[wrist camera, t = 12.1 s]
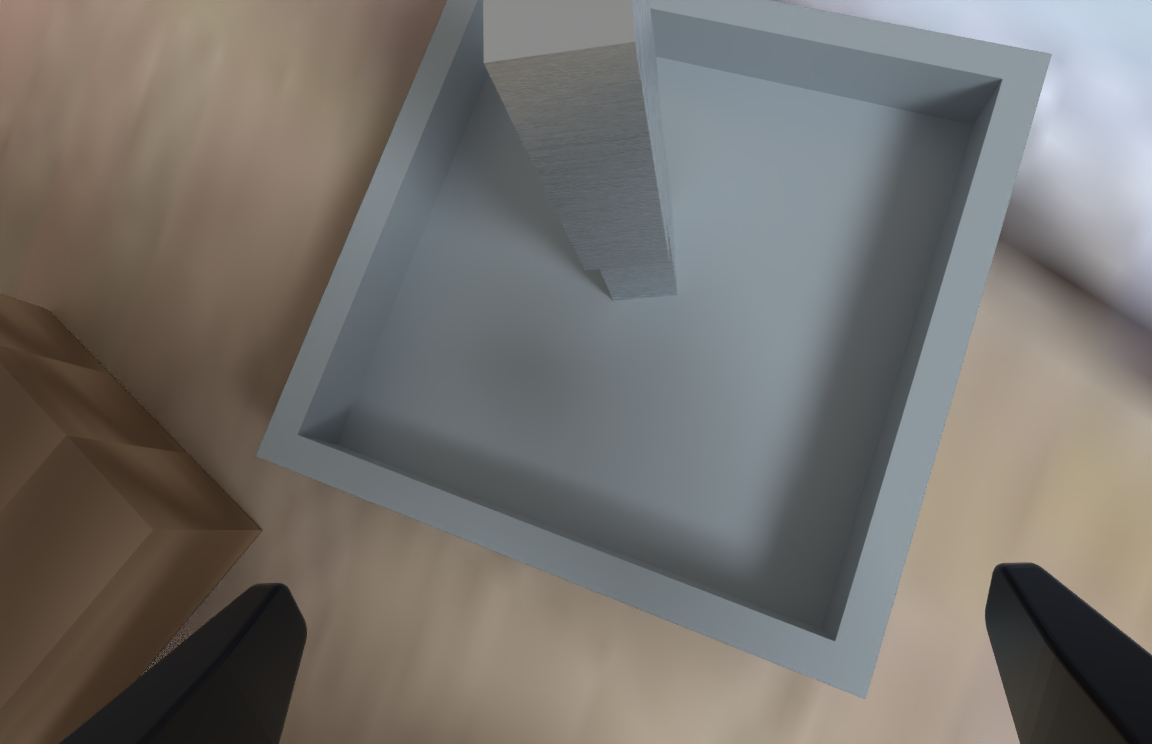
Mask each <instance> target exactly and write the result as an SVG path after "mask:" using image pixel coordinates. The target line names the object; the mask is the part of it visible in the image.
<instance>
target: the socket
mask: <svg viewBox="0 0 1152 744" xmlns="http://www.w3.org/2000/svg"><path fill="white" fill-rule="evenodd" d="M261 531H262V530H261V529H260V528H259V527H258V526H257V524H256V523H255V522H254V521H253V520H252V519H251V518H250V517H249V516H248V515H247V514H246V513H245V512H244V511H243V510H242V509H241V508H240V507H239V506H238V505H237V504H236V503H235V502H234V501H233V500H232V499H231V498H230V497H229V496H228V495H227V494H226V493H225V492H224V491H223V490H222V488H221V487H220V486H219V485H218V484H217V483H216V482H215V481H214V480H213V479H212V478H211V477H210V476H209V475H208V474H207V473H206V472H205V471H204V470H203V469H202V468H201V467H200V466H199V465H198V464H197V463H196V462H195V461H194V460H193V459H192V458H191V457H190V456H189V455H188V454H187V453H186V451H185V450H184V449H183V448H182V447H181V446H180V445H179V444H178V443H177V442H176V441H175V440H174V439H173V438H172V437H171V436H170V435H169V434H168V433H167V432H166V431H165V430H164V429H163V428H162V427H161V426H160V425H159V424H158V423H157V422H156V421H155V420H154V419H153V418H152V417H151V416H150V414H149V413H148V412H147V411H146V410H145V409H144V408H143V407H142V406H141V405H140V404H139V403H138V402H137V401H136V400H135V399H134V398H133V397H132V396H131V395H130V394H129V393H128V392H127V391H126V390H125V389H124V388H123V387H122V386H121V385H120V384H119V383H118V382H117V381H116V380H115V378H114V377H113V376H112V375H111V374H110V373H109V372H108V371H107V370H106V369H105V368H104V367H103V366H102V365H101V364H100V363H99V362H98V361H97V360H96V359H95V358H94V357H93V356H92V355H91V354H90V353H89V352H88V351H87V350H86V349H85V348H84V347H83V346H82V345H81V344H80V343H79V341H78V340H77V339H76V338H75V337H74V336H73V335H72V334H71V333H70V332H69V331H68V330H67V329H66V328H65V327H64V326H63V325H62V324H61V323H60V322H59V321H58V320H57V319H56V318H55V317H54V316H53V315H52V314H51V313H50V312H49V311H48V310H47V309H44V308H41V307H38V306H35V305H32V304H29V303H26V302H23V301H20V300H17V299H14V298H11V297H8V296H5V295H2V294H0V744H59V743H60V742H61V741H62V740H64V739H65V738H66V737H67V736H68V735H70V734H71V733H72V732H73V731H75V730H76V729H77V728H78V727H80V726H81V725H82V724H83V723H84V722H86V721H87V720H88V719H89V718H91V717H92V716H93V715H94V714H95V713H97V712H98V711H99V710H100V709H102V708H103V707H104V706H105V705H106V704H108V703H109V702H110V701H111V700H113V699H114V698H115V697H116V696H117V695H119V694H120V693H121V692H122V691H124V690H125V689H126V688H127V687H129V686H130V685H131V684H132V683H133V682H135V681H136V680H137V679H138V678H139V677H140V675H141V674H142V673H143V672H144V671H145V669H146V668H147V667H148V666H149V665H150V663H151V662H152V661H153V660H154V659H155V658H156V656H157V655H158V654H159V653H160V652H161V650H162V649H163V648H164V647H165V646H166V644H167V643H168V642H169V641H170V640H171V638H172V637H173V636H174V635H175V634H176V632H177V631H178V630H179V629H180V628H181V627H182V625H183V624H184V623H185V622H186V621H187V619H188V618H189V617H190V616H191V615H192V613H193V612H194V611H195V610H196V609H197V607H198V606H199V605H200V604H201V603H202V601H203V600H204V599H205V598H206V597H207V596H208V594H209V593H210V592H211V591H212V590H213V588H214V587H215V586H216V585H217V584H218V582H219V581H220V580H221V579H222V578H223V576H224V575H225V574H226V573H227V572H228V571H229V569H230V568H231V567H232V566H233V565H234V563H235V562H236V561H237V560H238V559H239V557H240V556H241V555H242V554H243V553H244V551H245V550H246V549H247V548H248V547H249V545H250V544H251V543H252V542H253V541H254V540H255V538H256V537H257V536H258V535H259V534H260V532H261Z"/></svg>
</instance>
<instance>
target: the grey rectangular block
mask: <svg viewBox="0 0 1152 744" xmlns="http://www.w3.org/2000/svg"><path fill="white" fill-rule="evenodd" d="M483 35H484V65H485V67H486V69H487V71H488V73H489V75H490V77H491V79H492V81H493V83H494V85H495V87H496V89H497V91H498V93H499V95H500V98H501V100H502V102H503V104H504V106H505V108H506V110H507V112H508V114H509V116H510V118H511V120H512V122H513V124H514V126H515V128H516V130H517V132H518V134H519V137H520V139H521V141H522V143H523V145H524V147H525V149H526V151H527V153H528V155H529V157H530V159H531V161H532V163H533V165H534V167H535V169H536V171H537V173H538V176H539V178H540V180H541V182H542V184H543V186H544V188H545V190H546V192H547V194H548V196H549V198H550V200H551V202H552V204H553V206H554V208H555V210H556V212H557V215H558V217H559V219H560V221H561V223H562V225H563V227H564V229H565V231H566V233H567V235H568V237H569V239H570V241H571V243H572V245H573V247H574V249H575V252H576V254H577V256H578V258H579V260H580V262H581V264H582V266H583V268H584V270H593V269H600V271H601V273H602V276H603V278H604V280H605V283H606V285H607V287H608V290H609V292H610V294H611V297H612V299H613V301H615V300H627V299H639V298H650V297H662V296H674V295H678V292H677V276H676V260H675V244H674V229H673V213H672V201H671V193H670V184H669V176H668V168H667V160H666V152H665V144H664V136H663V127H662V119H661V111H660V99H659V82H658V68H657V60H656V51H655V43H654V34H653V26H652V17H651V9H650V0H483Z"/></svg>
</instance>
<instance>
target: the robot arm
mask: <svg viewBox="0 0 1152 744" xmlns="http://www.w3.org/2000/svg"><path fill="white" fill-rule="evenodd" d="M985 621H986V627H987V632H988V635H989V639H990V642H991V645H992V649H993V652H994V656H995V659H996V663H997V666H998V669H999V673H1000V676H1001V680H1002V683H1003V686H1004V690H1005V693H1006V697H1007V700H1008V704H1009V707H1010V710H1011V714H1012V717H1013V721H1014V724H1015V728H1016V731H1017V734H1018V738H1019V741H1020V744H1152V655H1151V654H1150V653H1149V652H1147V651H1146V650H1145V649H1144V648H1142V647H1141V646H1140V645H1139V644H1137V643H1136V642H1135V641H1134V640H1132V639H1131V638H1130V637H1129V636H1127V635H1126V634H1125V633H1123V632H1122V631H1121V630H1120V629H1118V628H1117V627H1116V626H1115V625H1113V624H1112V623H1111V622H1110V621H1108V620H1107V619H1106V618H1105V617H1103V616H1102V615H1101V614H1100V613H1098V612H1097V611H1096V610H1095V609H1093V608H1092V607H1091V606H1090V605H1088V604H1087V603H1086V602H1085V601H1083V600H1082V599H1081V598H1079V597H1078V596H1077V595H1076V594H1074V593H1073V592H1072V591H1071V590H1069V589H1068V588H1067V587H1066V586H1064V585H1063V584H1062V583H1061V582H1059V581H1058V580H1057V579H1056V578H1054V577H1053V576H1052V575H1051V574H1049V573H1048V572H1047V571H1046V570H1044V569H1043V568H1042V567H1040V566H1038V565H1036V564H1034V563H1001V564H998V565H997V566H996V567H995V568H994V571H993V574H992V579H991V584H990V589H989V594H988V599H987V604H986V609H985ZM306 637H307V627H306V622H305V620H304V618H303V616H302V614H301V612H300V610H299V608H298V606H297V604H296V602H295V600H294V598H293V596H292V594H291V592H290V590H289V589H288V587H287V586H285V585H284V584H281V583H266V584H256V585H253V586H252V587H250V588H249V589H247V590H246V591H245V592H244V593H242V594H241V595H240V596H239V597H238V598H236V599H235V600H234V601H233V602H231V603H230V604H229V605H228V606H227V607H225V608H224V609H223V610H222V611H220V612H219V613H218V614H217V615H215V616H214V617H213V618H212V619H211V620H209V621H208V622H207V623H206V624H204V625H203V626H202V627H201V628H200V629H198V630H197V631H196V632H195V633H193V634H192V635H191V636H190V637H189V638H187V639H186V640H185V641H184V642H182V643H181V644H180V645H179V646H178V647H176V648H175V649H174V650H173V651H171V652H170V653H169V654H168V655H166V656H165V657H164V658H163V659H162V660H160V661H159V662H158V663H157V664H155V665H154V666H153V667H152V668H151V669H149V670H148V671H147V672H146V673H144V674H143V675H142V676H141V677H140V678H138V679H137V680H136V681H135V682H133V683H132V684H131V685H130V686H129V687H127V688H126V689H125V690H124V691H122V692H121V693H120V694H119V695H117V696H116V697H115V698H114V699H113V700H111V701H110V702H109V703H108V704H106V705H105V706H104V707H103V708H102V709H100V710H99V711H98V712H97V713H95V714H94V715H93V716H92V717H91V718H89V719H88V720H87V721H86V722H84V723H83V724H82V725H81V726H80V727H78V728H77V729H76V730H75V731H73V732H72V733H71V734H70V735H68V736H67V737H66V738H65V739H64V740H62V741H61V742H60V743H59V744H279V741H280V738H281V734H282V731H283V727H284V723H285V719H286V715H287V711H288V708H289V704H290V700H291V696H292V692H293V689H294V685H295V681H296V677H297V673H298V669H299V666H300V662H301V658H302V654H303V650H304V646H305V643H306Z"/></svg>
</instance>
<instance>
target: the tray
mask: <svg viewBox="0 0 1152 744" xmlns="http://www.w3.org/2000/svg"><path fill="white" fill-rule="evenodd" d="M650 9H651V17H652V26H653V34H654V43H655V51H656V60H657V68H658V82H659V99H660V111H661V119H662V127H663V136H664V144H665V152H666V160H667V168H668V176H669V184H670V193H671V201H672V213H673V229H674V244H675V260H676V276H677V292H678V295H674V296H662V297H650V298H639V299H627V300H615V301H613V299H612V297H611V294H610V292H609V290H608V287H607V285H606V283H605V280H604V278H603V276H602V273H601V271H600V269H593V270H584V268H583V266H582V264H581V262H580V260H579V258H578V256H577V254H576V252H575V249H574V247H573V245H572V243H571V241H570V239H569V237H568V235H567V233H566V231H565V229H564V227H563V225H562V223H561V221H560V219H559V217H558V215H557V212H556V210H555V208H554V206H553V204H552V202H551V200H550V198H549V196H548V194H547V192H546V190H545V188H544V186H543V184H542V182H541V180H540V178H539V176H538V173H537V171H536V169H535V167H534V165H533V163H532V161H531V159H530V157H529V155H528V153H527V151H526V149H525V147H524V145H523V143H522V141H521V139H520V137H519V134H518V132H517V130H516V128H515V126H514V124H513V122H512V120H511V118H510V116H509V114H508V112H507V110H506V108H505V106H504V104H503V102H502V100H501V98H500V95H499V93H498V91H497V89H496V87H495V85H494V83H493V81H492V79H491V77H490V75H489V73H488V71H487V69H486V67H485V65H484V35H483V0H447V2H446V4H445V7H444V9H443V11H442V14H441V16H440V19H439V21H438V23H437V26H436V28H435V30H434V33H433V35H432V38H431V40H430V42H429V45H428V47H427V49H426V52H425V54H424V57H423V59H422V61H421V64H420V66H419V68H418V71H417V73H416V76H415V78H414V80H413V83H412V85H411V87H410V90H409V92H408V95H407V97H406V99H405V102H404V104H403V106H402V109H401V111H400V114H399V116H398V118H397V121H396V123H395V125H394V128H393V130H392V133H391V135H390V137H389V140H388V142H387V145H386V147H385V149H384V152H383V154H382V156H381V159H380V161H379V164H378V166H377V168H376V171H375V173H374V175H373V178H372V180H371V183H370V185H369V187H368V190H367V192H366V194H365V197H364V199H363V202H362V204H361V206H360V209H359V211H358V213H357V216H356V218H355V221H354V223H353V225H352V228H351V230H350V232H349V235H348V237H347V240H346V242H345V244H344V247H343V249H342V251H341V254H340V256H339V259H338V261H337V263H336V266H335V268H334V270H333V273H332V275H331V278H330V280H329V282H328V285H327V287H326V289H325V292H324V294H323V297H322V299H321V301H320V304H319V306H318V308H317V311H316V313H315V316H314V318H313V320H312V323H311V325H310V327H309V330H308V332H307V335H306V337H305V339H304V342H303V344H302V346H301V349H300V351H299V354H298V356H297V358H296V361H295V363H294V365H293V368H292V370H291V373H290V375H289V377H288V380H287V382H286V384H285V387H284V389H283V392H282V394H281V396H280V399H279V401H278V403H277V406H276V408H275V411H274V413H273V415H272V418H271V420H270V422H269V425H268V427H267V430H266V432H265V434H264V437H263V439H262V441H261V444H260V446H259V449H258V451H257V453H256V457H259V458H261V459H264V460H266V461H269V462H271V463H274V464H276V465H279V466H281V467H284V468H286V469H289V470H291V471H294V472H296V473H299V474H301V475H304V476H307V477H309V478H312V479H314V480H317V481H319V482H322V483H324V484H327V485H329V486H332V487H334V488H337V489H339V490H342V491H344V492H347V493H349V494H352V495H354V496H357V497H359V498H362V499H364V500H367V501H369V502H372V503H374V504H377V505H379V506H382V507H384V508H387V509H389V510H392V511H394V512H397V513H399V514H402V515H404V516H407V517H409V518H412V519H414V520H417V521H419V522H422V523H424V524H427V525H429V526H432V527H434V528H437V529H439V530H442V531H444V532H447V533H449V534H452V535H454V536H457V537H459V538H462V539H464V540H467V541H469V542H472V543H475V544H477V545H480V546H482V547H485V548H487V549H490V550H492V551H495V552H497V553H500V554H502V555H505V556H507V557H510V558H512V559H515V560H517V561H520V562H522V563H525V564H527V565H530V566H532V567H535V568H537V569H540V570H542V571H545V572H547V573H550V574H552V575H555V576H557V577H560V578H562V579H565V580H567V581H570V582H572V583H575V584H577V585H580V586H582V587H585V588H587V589H590V590H592V591H595V592H597V593H600V594H602V595H605V596H607V597H610V598H612V599H615V600H617V601H620V602H622V603H625V604H627V605H630V606H632V607H635V608H637V609H640V610H643V611H645V612H648V613H650V614H653V615H655V616H658V617H660V618H663V619H665V620H668V621H670V622H673V623H675V624H678V625H680V626H683V627H685V628H688V629H690V630H693V631H695V632H698V633H700V634H703V635H705V636H708V637H710V638H713V639H715V640H718V641H720V642H723V643H725V644H728V645H730V646H733V647H735V648H738V649H740V650H743V651H745V652H748V653H750V654H753V655H755V656H758V657H760V658H763V659H765V660H768V661H770V662H773V663H775V664H778V665H780V666H783V667H785V668H788V669H790V670H793V671H795V672H798V673H800V674H803V675H805V676H808V677H811V678H813V679H816V680H818V681H821V682H823V683H826V684H828V685H831V686H833V687H836V688H838V689H841V690H843V691H846V692H848V693H851V694H853V695H856V696H858V697H861V698H863V699H866V695H867V692H868V688H869V685H870V682H871V678H872V675H873V671H874V668H875V664H876V661H877V657H878V654H879V650H880V647H881V643H882V640H883V637H884V633H885V630H886V626H887V623H888V619H889V616H890V612H891V609H892V605H893V602H894V598H895V595H896V592H897V588H898V585H899V581H900V578H901V574H902V571H903V567H904V564H905V560H906V557H907V553H908V550H909V547H910V543H911V540H912V536H913V533H914V529H915V526H916V522H917V519H918V515H919V512H920V508H921V505H922V502H923V498H924V495H925V491H926V488H927V484H928V481H929V477H930V474H931V470H932V467H933V463H934V460H935V457H936V453H937V450H938V446H939V443H940V439H941V436H942V432H943V429H944V425H945V422H946V418H947V415H948V412H949V408H950V405H951V401H952V398H953V394H954V391H955V387H956V384H957V380H958V377H959V373H960V370H961V367H962V363H963V360H964V356H965V353H966V349H967V346H968V342H969V339H970V335H971V332H972V328H973V325H974V322H975V318H976V315H977V311H978V308H979V304H980V301H981V297H982V294H983V290H984V287H985V283H986V280H987V277H988V273H989V270H990V266H991V263H992V259H993V256H994V252H995V249H996V245H997V242H998V238H999V235H1000V232H1001V228H1002V225H1003V221H1004V218H1005V214H1006V211H1007V207H1008V204H1009V200H1010V197H1011V193H1012V190H1013V187H1014V183H1015V180H1016V176H1017V173H1018V169H1019V166H1020V162H1021V159H1022V155H1023V152H1024V149H1025V145H1026V142H1027V138H1028V135H1029V131H1030V128H1031V124H1032V121H1033V117H1034V114H1035V110H1036V107H1037V104H1038V100H1039V97H1040V93H1041V90H1042V86H1043V83H1044V79H1045V76H1046V72H1047V69H1048V65H1049V62H1050V59H1051V55H1052V54H1049V53H1044V52H1039V51H1033V50H1028V49H1023V48H1018V47H1012V46H1007V45H1002V44H996V43H991V42H986V41H981V40H975V39H970V38H965V37H960V36H954V35H949V34H944V33H939V32H933V31H928V30H923V29H917V28H912V27H907V26H902V25H896V24H891V23H886V22H881V21H875V20H870V19H865V18H860V17H854V16H849V15H844V14H839V13H833V12H828V11H823V10H817V9H812V8H807V7H802V6H796V5H791V4H786V3H781V2H775V1H770V0H650Z"/></svg>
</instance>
